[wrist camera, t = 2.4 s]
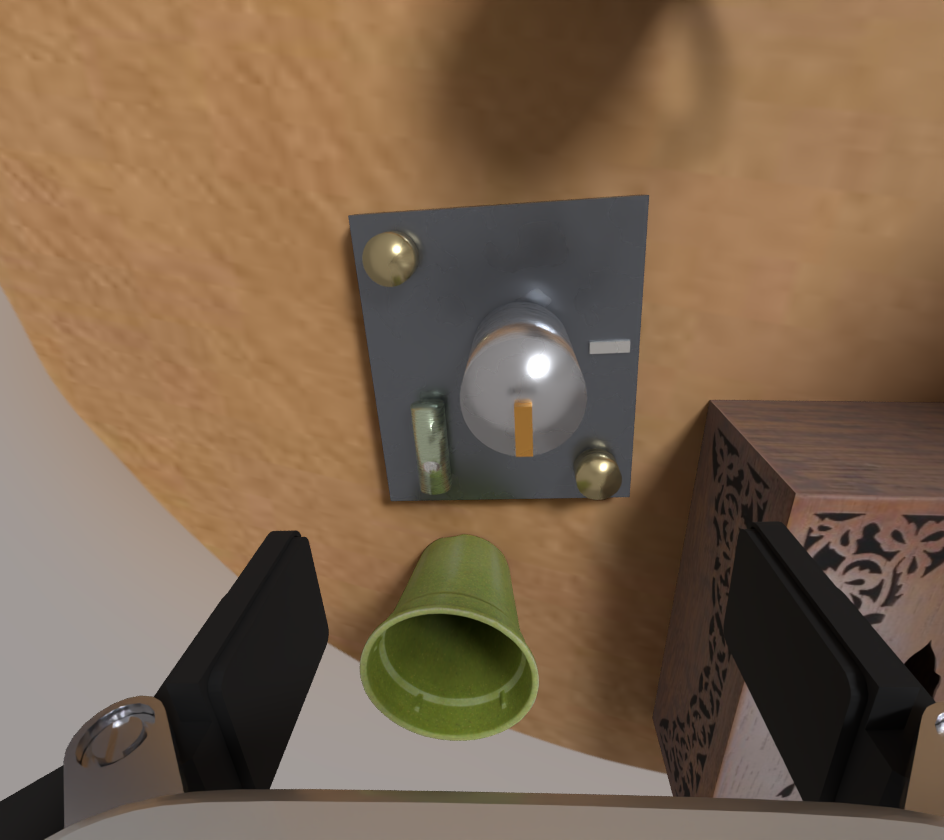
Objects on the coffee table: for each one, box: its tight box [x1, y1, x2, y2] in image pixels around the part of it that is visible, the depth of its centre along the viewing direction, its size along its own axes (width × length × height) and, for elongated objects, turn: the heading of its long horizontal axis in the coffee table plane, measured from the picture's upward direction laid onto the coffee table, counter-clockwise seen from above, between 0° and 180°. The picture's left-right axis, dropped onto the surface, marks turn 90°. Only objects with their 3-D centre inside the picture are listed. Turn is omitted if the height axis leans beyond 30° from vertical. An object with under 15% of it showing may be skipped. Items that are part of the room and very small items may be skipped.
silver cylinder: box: [460, 302, 587, 457], centre depth 24 cm, size 5×5×7 cm
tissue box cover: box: [652, 400, 944, 801], centre depth 29 cm, size 26×14×10 cm, turn 1°
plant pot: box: [360, 534, 539, 741], centre depth 31 cm, size 9×9×9 cm
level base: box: [348, 195, 649, 501], centre depth 27 cm, size 16×14×4 cm
